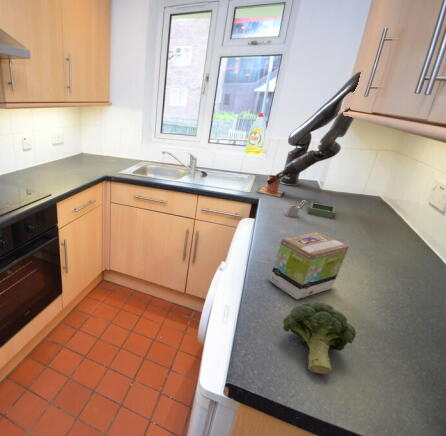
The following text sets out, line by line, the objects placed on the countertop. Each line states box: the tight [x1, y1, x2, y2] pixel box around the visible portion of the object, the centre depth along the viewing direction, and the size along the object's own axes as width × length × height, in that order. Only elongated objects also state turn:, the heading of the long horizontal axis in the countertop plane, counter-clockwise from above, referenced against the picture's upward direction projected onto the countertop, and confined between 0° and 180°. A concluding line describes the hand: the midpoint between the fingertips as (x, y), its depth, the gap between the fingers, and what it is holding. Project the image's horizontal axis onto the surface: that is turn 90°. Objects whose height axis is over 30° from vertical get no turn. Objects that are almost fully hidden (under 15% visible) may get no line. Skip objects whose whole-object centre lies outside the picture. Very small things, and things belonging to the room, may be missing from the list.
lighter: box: [286, 199, 308, 218], centre depth 138 cm, size 7×2×8 cm, turn 85°
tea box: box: [269, 231, 350, 300], centre depth 85 cm, size 15×10×15 cm, turn 114°
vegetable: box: [282, 301, 357, 375], centre depth 63 cm, size 12×13×15 cm
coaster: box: [257, 186, 284, 198], centre depth 173 cm, size 12×12×1 cm
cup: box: [264, 174, 281, 193], centre depth 171 cm, size 7×7×9 cm
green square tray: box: [308, 202, 336, 219], centre depth 144 cm, size 10×10×3 cm
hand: (270, 181), depth 172 cm, fingers open, 7 cm apart
